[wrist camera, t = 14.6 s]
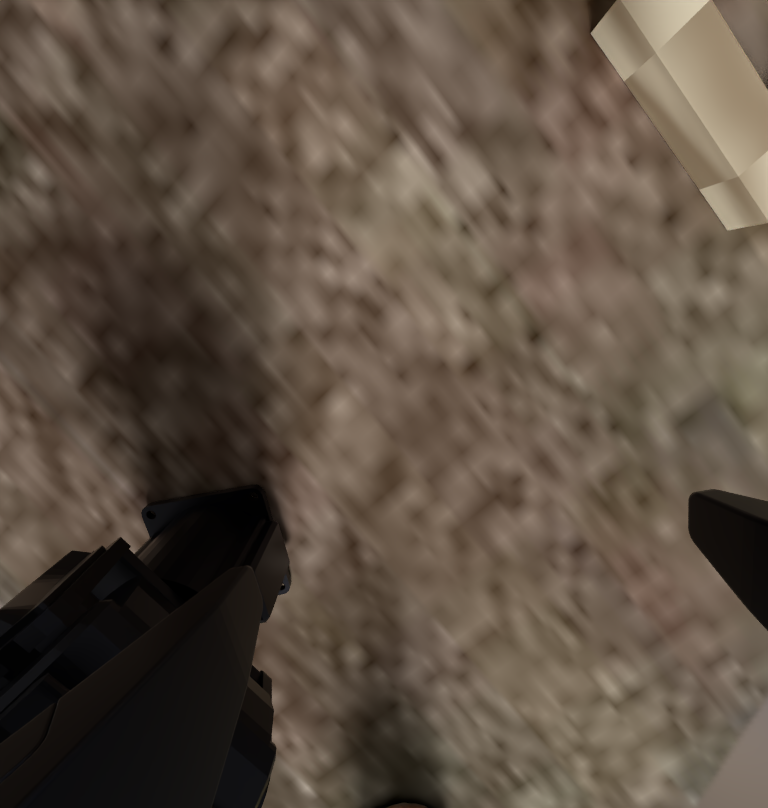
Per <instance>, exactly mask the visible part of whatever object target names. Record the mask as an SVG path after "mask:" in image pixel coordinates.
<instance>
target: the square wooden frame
mask: <svg viewBox="0 0 768 808" xmlns="http://www.w3.org/2000/svg"><path fill="white" fill-rule="evenodd" d="M591 35H592V36H593V38H594V39H595V40H596V42H597V43H598V45H599V46H600V48H601V49H602V51H603V52H604V53H605V55H606V56H607V58H608V59H609V61H610V62H611V63H612V65H613V66H614V68H615V69H616V71H617V72H618V74H619V75H620V76H621V78H622V79H623V81H624V82H625V84H626V85H627V86H628V88H629V89H630V91H631V92H632V94H633V95H634V97H635V98H636V99H637V101H638V102H639V104H640V105H641V107H642V108H643V110H644V111H645V112H646V114H647V115H648V117H649V118H650V120H651V121H652V122H653V124H654V125H655V127H656V128H657V130H658V131H659V133H660V134H661V135H662V137H663V138H664V140H665V141H666V143H667V144H668V145H669V147H670V148H671V150H672V151H673V153H674V154H675V156H676V157H677V158H678V160H679V161H680V163H681V164H682V166H683V167H684V168H685V170H686V171H687V173H688V174H689V176H690V177H691V179H692V180H693V181H694V183H695V184H696V186H697V187H698V189H699V190H700V192H701V193H702V194H703V196H704V197H705V199H706V200H707V202H708V203H709V204H710V206H711V207H712V209H713V210H714V212H715V213H716V215H717V216H718V217H719V219H720V220H721V222H722V223H723V225H724V226H725V227H726V229H727V230H732V229H738V228H743V227H748V226H754V225H759V224H764V223H768V90H767V88H766V86H765V85H764V83H763V82H762V80H761V78H760V77H759V75H758V73H757V72H756V70H755V69H754V67H753V65H752V64H751V62H750V61H749V59H748V57H747V56H746V54H745V53H744V51H743V49H742V48H741V46H740V44H739V43H738V41H737V40H736V38H735V36H734V35H733V33H732V32H731V30H730V28H729V27H728V25H727V23H726V22H725V20H724V19H723V17H722V15H721V14H720V12H719V11H718V9H717V7H716V6H715V4H714V3H713V1H712V0H616V1H615V3H614V4H613V5H612V7H611V8H610V9H609V10H608V12H607V13H606V14H605V16H604V17H603V18H602V19H601V21H600V22H599V23H598V25H597V26H596V27H595V28H594V30H593V31H592V32H591Z"/></svg>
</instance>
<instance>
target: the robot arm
mask: <svg viewBox="0 0 768 808" xmlns="http://www.w3.org/2000/svg"><path fill="white" fill-rule="evenodd" d="M251 493H256V494H257V495H258V498H254V497H252V495H251ZM151 511H153V512H155V514H156V515H153V514H152V513H151ZM141 514H142V518H143V520H144V523H145V526H146V528H147V531H148V533H149V536H150V539H149V540H148V541H147V542H146V543H145V544H144V545H143V546H142V547H141V548H140V549H139V550H138V551H137V552H136V553H135V554H134V553H133V552H131V551H130V550H129V548H130V547H131V546H130V545H129V544H128V543H127V542H126V541H124V540H123V539H122V538H121V537H120V538H118V539H117V540H116V541H114V542H113V543H112V544H111V545H109V546H108V547H107V548H104V547H103V546H101V547H99V548H98V549H97V550H95V551H93V552H92V553H88V552H80V551H71V552H70V553H68V554H67V555H66V556H64V557H63V558H62V559H61V560H59V561H58V562H57V563H56V564H55V565H53V566H52V567H51V568H50V569H48V570H47V571H46V572H45V573H43V574H42V575H41V576H40V577H39V578H37V579H36V580H35V581H34V582H32V583H31V584H30V585H29V586H27V587H26V588H25V589H24V590H23V591H21V592H20V593H19V594H18V595H16V596H15V597H14V598H13V599H12V600H10V601H9V602H8V603H7V604H6V605H4V606H3V607H2V608H1V609H0V808H261V807H262V804H263V802H264V799H265V796H266V793H267V789H268V785H269V781H270V775H271V772H272V769H273V765H274V762H275V757H276V746H275V744H274V743H273V742H272V724H273V714H274V709H273V706H272V680H271V678H270V677H269V676H268V675H267V674H266V673H265V672H263V671H260V672H259V671H258V670H257V669H256V668H255V667H254V666H253V665H252V661H253V656H254V651H255V646H256V641H257V635H258V630H259V625H260V623H264V622H266V621H267V620H268V618H269V617H270V615H271V612H272V610H273V607H274V604H275V602H276V599H277V596H278V595H281V594H285V593H287V592H288V591H289V589H290V586H291V578H290V575H289V571H288V566H289V563H290V561H289V557H288V554H287V551H286V547H285V544H284V540H283V537H282V534H281V530H280V527H279V524H278V523H277V522H276V521H275V520H273V518H272V514H271V511H270V507H269V504H268V501H267V497H266V494H265V491H264V489H263V488H262V487H261V486H259V485H249V486H243V487H237V488H232V489H226V490H220V491H215V492H209V493H203V494H198V495H192V496H186V497H181V498H175V499H169V500H164V501H158V502H153V503H150V504H148V505H147V506H146V507H145V508H144V509H143V510H142V513H141ZM688 529H689V534H690V536H691V538H692V540H693V542H694V543H695V545H696V546H697V547H698V548H699V550H700V551H701V552H702V553H703V554H704V556H705V557H706V558H707V559H708V561H709V562H710V563H711V564H712V566H713V567H714V568H715V569H716V571H717V572H718V573H719V574H720V576H721V577H722V578H723V579H724V581H725V582H726V583H727V584H728V586H729V587H730V588H731V589H732V590H733V592H734V593H735V594H736V595H737V597H738V598H739V599H740V600H741V602H742V603H743V604H744V605H745V606H746V607H747V609H748V610H749V611H750V612H751V613H752V614H753V615H754V616H755V618H756V619H757V620H758V621H759V622H760V623H761V624H762V625H763V626H764V627H765V628H766V629H767V630H768V501H764V500H760V499H755V498H751V497H747V496H742V495H738V494H734V493H729V492H725V491H721V490H716V489H710V490H704V491H698V492H694V493H692V494H691V495H690V497H689V507H688ZM282 583H283V584H284V585H282Z"/></svg>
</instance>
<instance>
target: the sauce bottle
mask: <svg viewBox="0 0 768 808" xmlns="http://www.w3.org/2000/svg"><path fill="white" fill-rule="evenodd" d="M385 808H427V807H426V806H424V805H419V804H416V803H414V804H412V803H399V804H395V805H391V806H389V807H385Z"/></svg>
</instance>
